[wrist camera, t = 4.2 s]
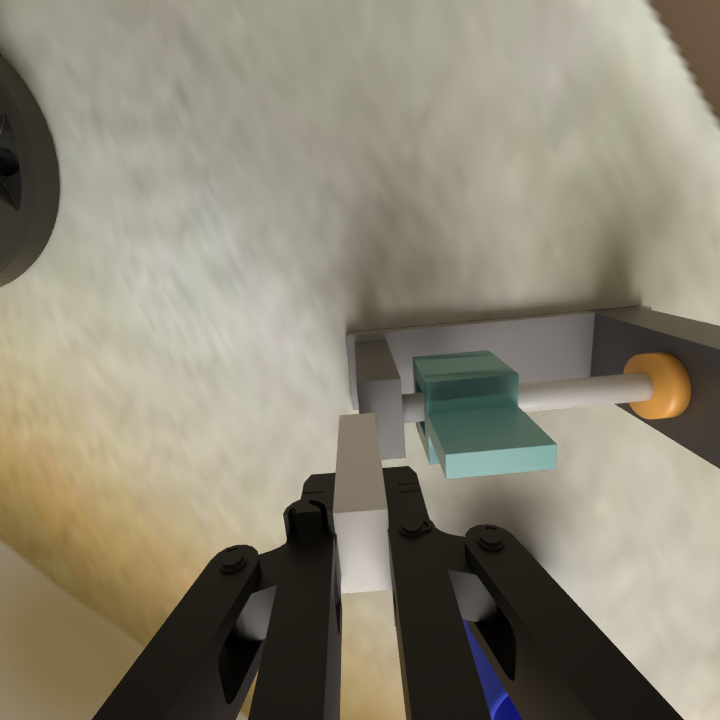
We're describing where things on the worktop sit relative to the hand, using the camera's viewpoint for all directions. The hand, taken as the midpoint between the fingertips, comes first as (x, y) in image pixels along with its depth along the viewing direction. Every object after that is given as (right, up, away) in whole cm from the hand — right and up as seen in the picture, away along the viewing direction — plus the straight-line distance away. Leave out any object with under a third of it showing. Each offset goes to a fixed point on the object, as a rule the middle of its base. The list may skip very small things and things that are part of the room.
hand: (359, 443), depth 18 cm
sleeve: (+5, +2, +4) cm, 7 cm away
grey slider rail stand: (+8, +4, +9) cm, 13 cm away
